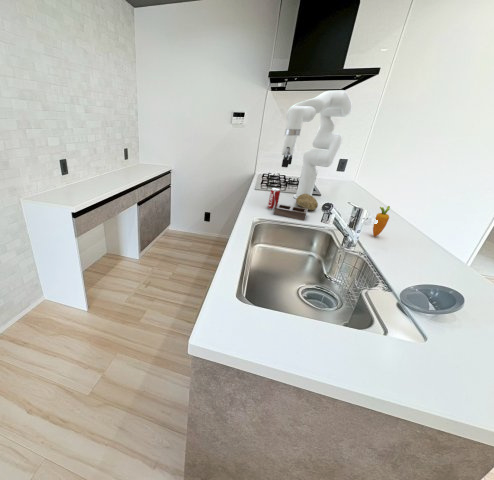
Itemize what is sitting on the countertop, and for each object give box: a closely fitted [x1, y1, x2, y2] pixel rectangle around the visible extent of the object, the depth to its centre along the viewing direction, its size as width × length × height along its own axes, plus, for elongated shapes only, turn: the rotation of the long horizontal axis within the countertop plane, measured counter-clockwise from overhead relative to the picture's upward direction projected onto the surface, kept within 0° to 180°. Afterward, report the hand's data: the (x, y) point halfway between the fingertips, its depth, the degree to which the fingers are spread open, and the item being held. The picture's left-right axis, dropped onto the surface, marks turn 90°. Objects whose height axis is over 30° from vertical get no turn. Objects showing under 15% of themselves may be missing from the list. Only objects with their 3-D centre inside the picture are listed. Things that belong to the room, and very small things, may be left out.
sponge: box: [295, 194, 319, 211], centre depth 157 cm, size 13×8×20 cm
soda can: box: [267, 187, 281, 211], centre depth 152 cm, size 5×5×12 cm
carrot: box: [372, 205, 391, 237], centre depth 118 cm, size 5×5×15 cm
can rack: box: [273, 203, 309, 221], centre depth 144 cm, size 9×16×4 cm, turn 59°
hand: (286, 165), depth 145 cm, fingers open, 9 cm apart
